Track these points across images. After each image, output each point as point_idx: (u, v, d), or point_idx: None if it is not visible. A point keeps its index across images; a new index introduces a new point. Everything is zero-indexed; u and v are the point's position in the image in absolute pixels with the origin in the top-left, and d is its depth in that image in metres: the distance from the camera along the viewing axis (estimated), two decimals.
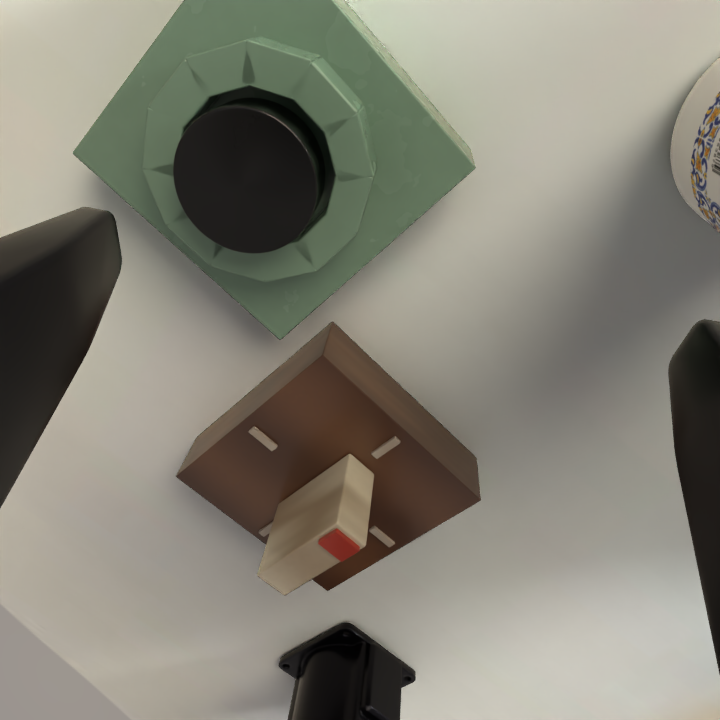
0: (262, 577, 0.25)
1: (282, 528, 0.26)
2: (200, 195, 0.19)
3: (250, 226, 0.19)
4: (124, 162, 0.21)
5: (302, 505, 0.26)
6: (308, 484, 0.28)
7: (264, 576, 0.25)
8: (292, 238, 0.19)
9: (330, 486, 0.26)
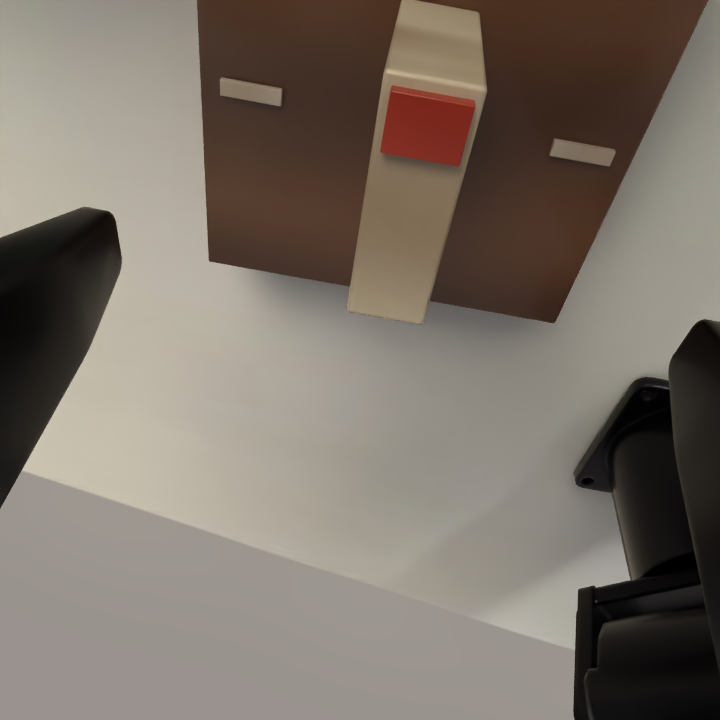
0: (357, 309, 0.12)
1: None
2: None
3: None
4: None
5: None
6: None
7: (359, 305, 0.12)
8: None
9: None
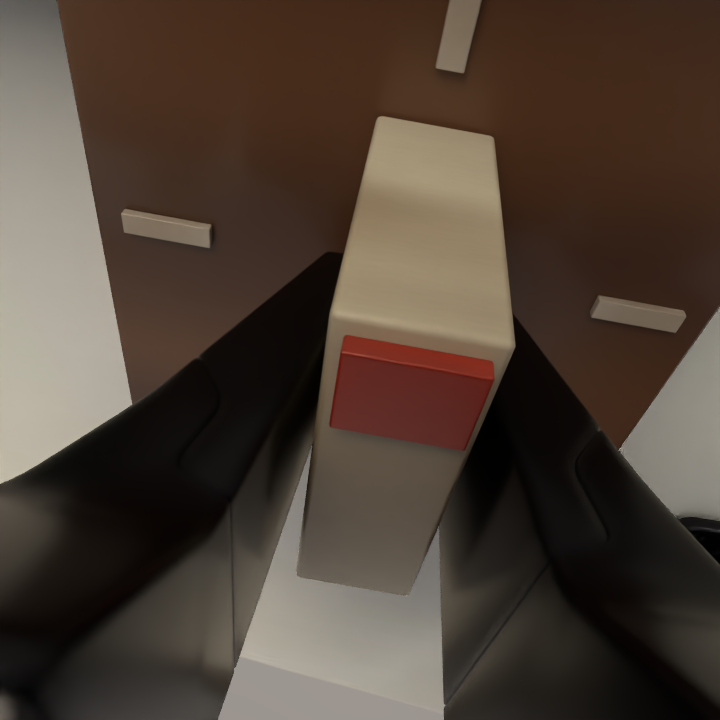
0: (312, 576, 0.08)
1: None
2: None
3: None
4: None
5: None
6: None
7: (314, 573, 0.08)
8: None
9: None
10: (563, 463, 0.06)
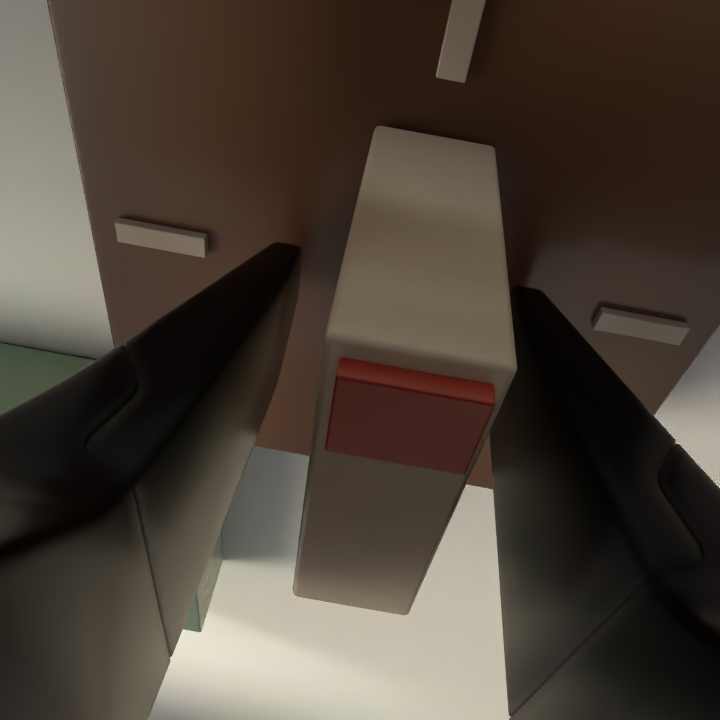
0: (308, 595, 0.08)
1: None
2: None
3: None
4: None
5: None
6: None
7: (310, 592, 0.08)
8: None
9: None
10: (646, 478, 0.06)
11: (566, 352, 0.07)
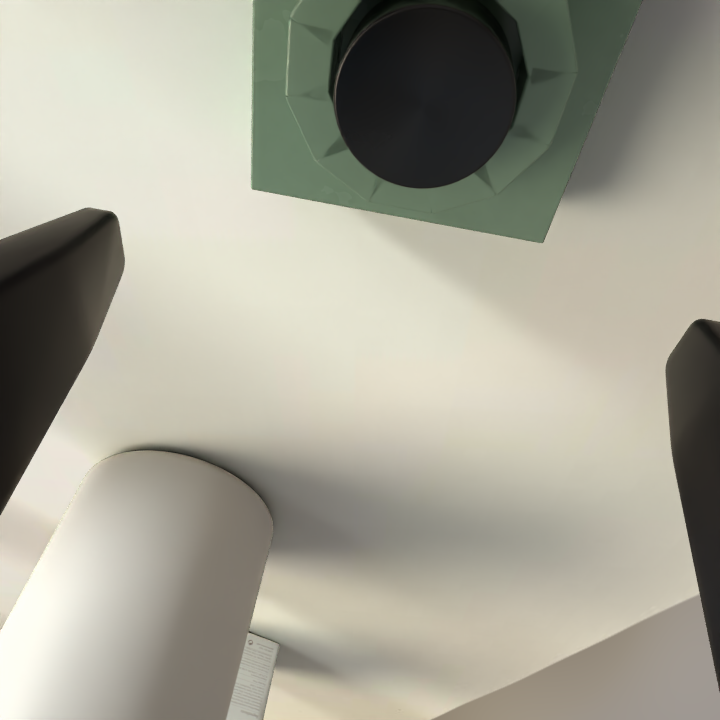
0: None
1: None
2: (465, 144, 0.15)
3: (467, 71, 0.14)
4: (523, 198, 0.19)
5: None
6: None
7: None
8: (450, 10, 0.13)
9: None
10: None
11: None
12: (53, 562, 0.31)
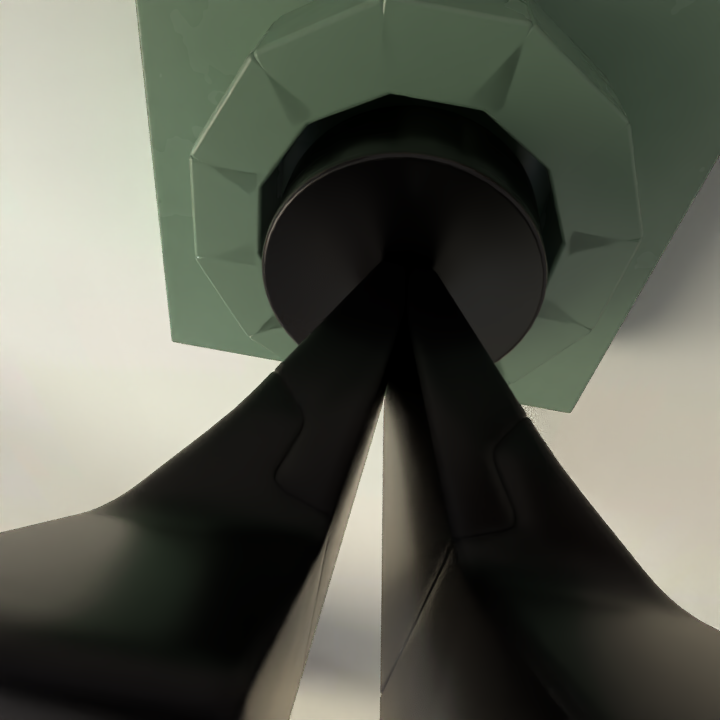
0: None
1: None
2: None
3: (470, 247, 0.09)
4: (546, 363, 0.14)
5: None
6: None
7: None
8: (441, 164, 0.08)
9: None
10: (481, 449, 0.06)
11: (439, 329, 0.07)
12: None
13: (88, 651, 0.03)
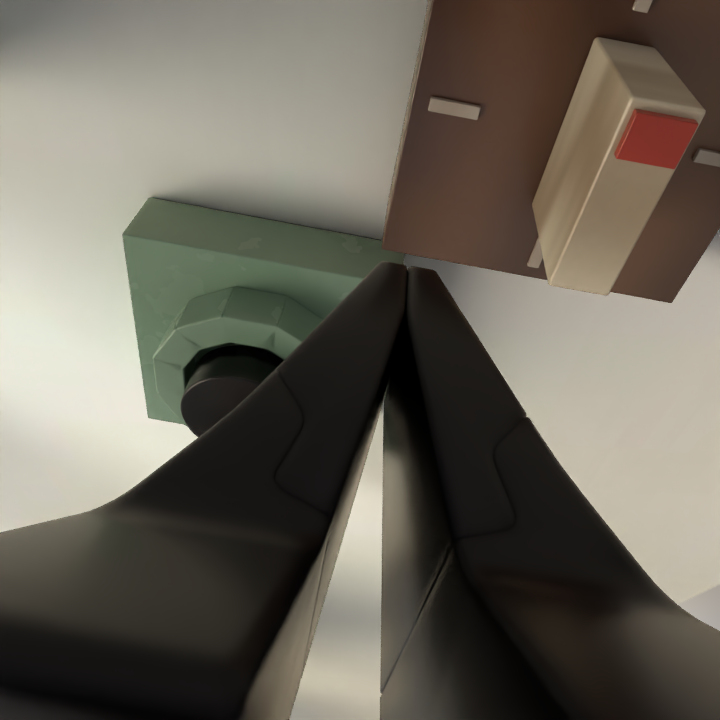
0: (558, 283, 0.15)
1: (551, 211, 0.16)
2: None
3: None
4: None
5: (563, 161, 0.16)
6: (557, 139, 0.17)
7: (560, 279, 0.15)
8: (243, 381, 0.21)
9: (590, 94, 0.15)
10: (481, 448, 0.06)
11: (439, 329, 0.07)
12: None
13: (88, 652, 0.03)
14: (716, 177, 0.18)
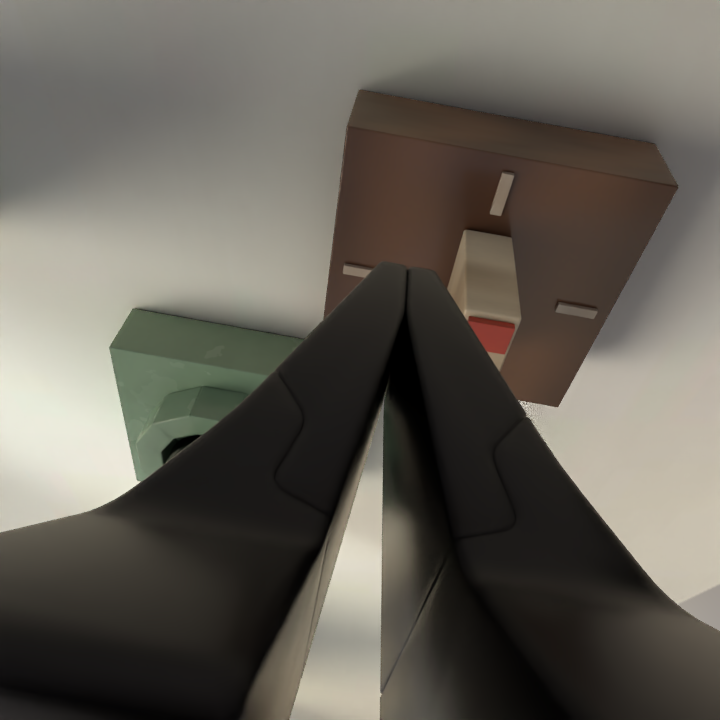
0: None
1: None
2: None
3: None
4: None
5: None
6: None
7: None
8: None
9: (457, 278, 0.19)
10: (481, 448, 0.06)
11: (439, 329, 0.07)
12: None
13: (88, 651, 0.03)
14: (576, 321, 0.22)
